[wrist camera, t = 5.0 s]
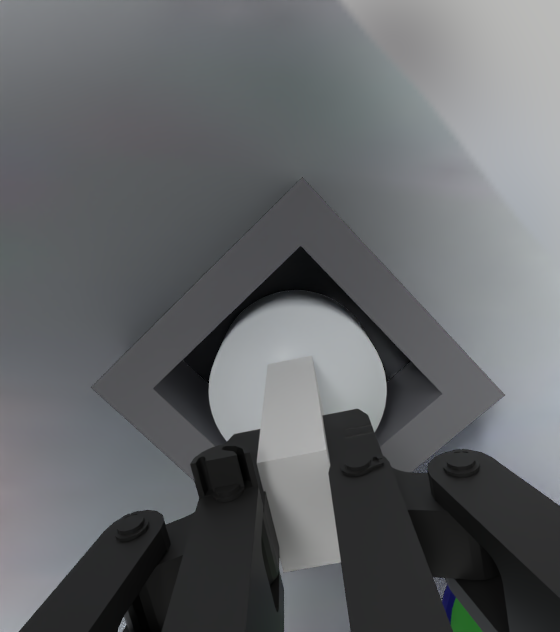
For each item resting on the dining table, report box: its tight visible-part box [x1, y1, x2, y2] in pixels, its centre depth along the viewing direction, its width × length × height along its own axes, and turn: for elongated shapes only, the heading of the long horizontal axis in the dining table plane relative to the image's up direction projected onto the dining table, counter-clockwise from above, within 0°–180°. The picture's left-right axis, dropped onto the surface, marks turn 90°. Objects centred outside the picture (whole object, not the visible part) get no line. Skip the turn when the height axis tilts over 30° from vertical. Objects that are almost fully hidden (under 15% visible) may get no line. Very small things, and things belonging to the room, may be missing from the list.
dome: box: [209, 290, 387, 441], centre depth 19 cm, size 6×6×3 cm
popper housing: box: [91, 177, 505, 558], centre depth 20 cm, size 10×10×4 cm
